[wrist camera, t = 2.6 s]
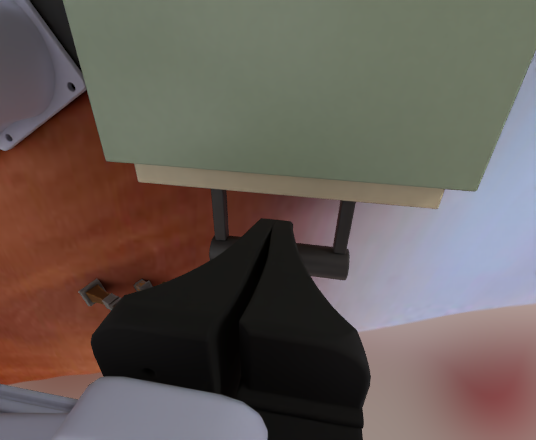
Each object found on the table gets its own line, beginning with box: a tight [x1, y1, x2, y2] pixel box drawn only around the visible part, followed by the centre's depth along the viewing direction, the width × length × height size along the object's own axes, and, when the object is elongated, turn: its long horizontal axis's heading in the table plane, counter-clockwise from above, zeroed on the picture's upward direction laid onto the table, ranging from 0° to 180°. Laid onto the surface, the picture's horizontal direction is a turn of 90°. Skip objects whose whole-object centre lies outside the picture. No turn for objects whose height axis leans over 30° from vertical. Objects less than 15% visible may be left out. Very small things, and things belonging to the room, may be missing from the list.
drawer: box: [134, 164, 445, 280], centre depth 12 cm, size 20×12×6 cm, turn 178°
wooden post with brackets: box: [78, 279, 165, 310], centre depth 26 cm, size 2×8×4 cm, turn 103°
